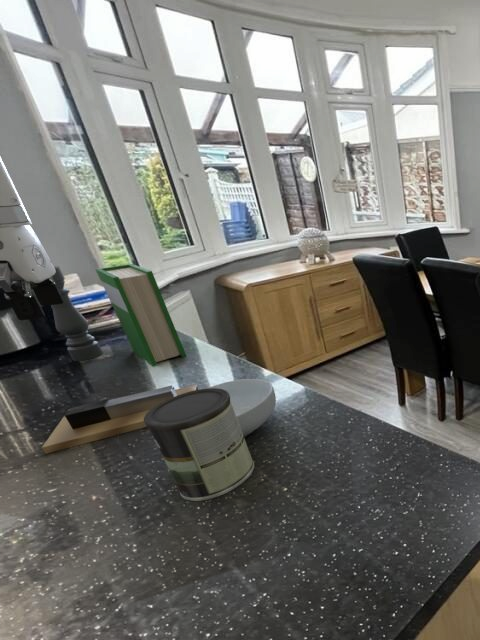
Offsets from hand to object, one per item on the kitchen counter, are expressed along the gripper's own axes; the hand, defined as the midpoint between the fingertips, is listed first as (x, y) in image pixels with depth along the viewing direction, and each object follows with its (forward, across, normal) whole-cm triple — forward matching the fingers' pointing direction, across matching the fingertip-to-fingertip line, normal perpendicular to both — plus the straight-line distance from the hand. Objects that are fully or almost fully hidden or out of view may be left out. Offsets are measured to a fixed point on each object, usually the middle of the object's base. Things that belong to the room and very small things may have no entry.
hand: (43, 311), depth 75 cm
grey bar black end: (+21, -8, -7) cm, 24 cm away
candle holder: (+24, +41, +10) cm, 49 cm away
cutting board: (+23, -8, -7) cm, 25 cm away
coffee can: (+22, -39, -24) cm, 51 cm away
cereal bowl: (+22, -25, -26) cm, 42 cm away
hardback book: (+23, +31, -7) cm, 39 cm away
